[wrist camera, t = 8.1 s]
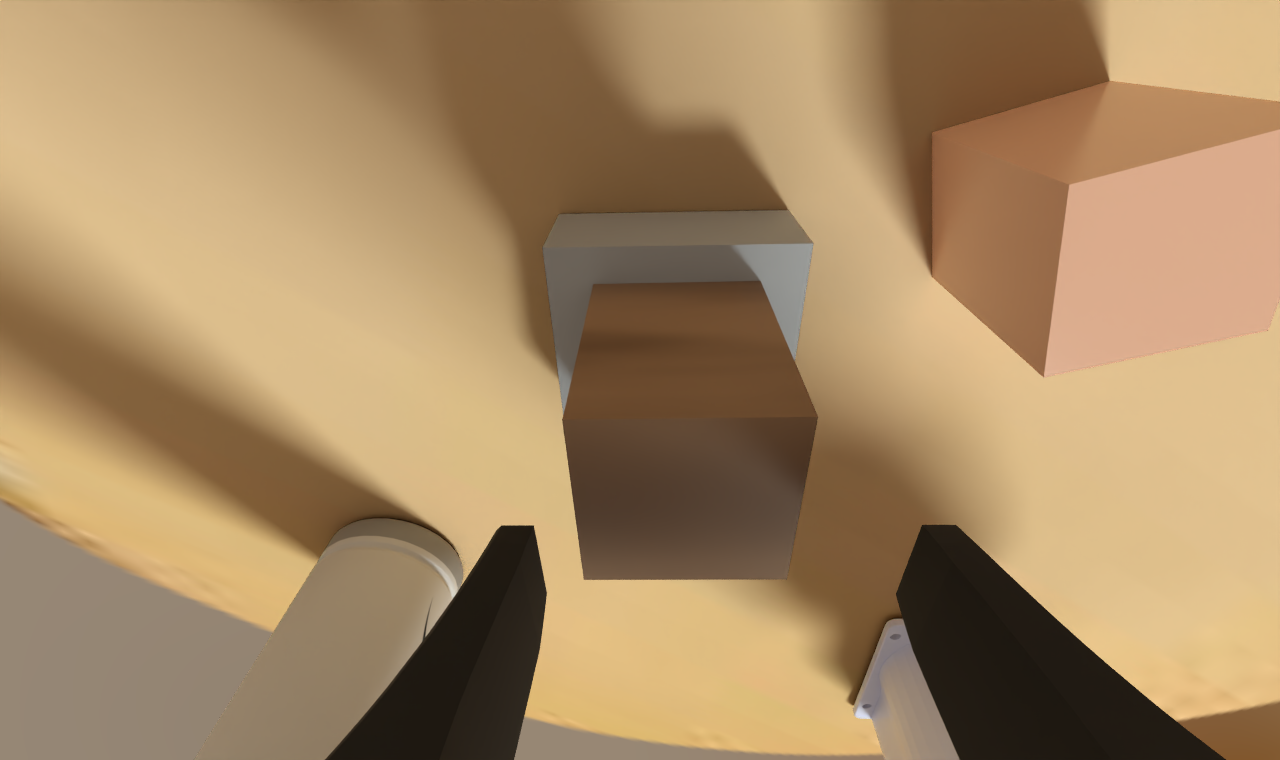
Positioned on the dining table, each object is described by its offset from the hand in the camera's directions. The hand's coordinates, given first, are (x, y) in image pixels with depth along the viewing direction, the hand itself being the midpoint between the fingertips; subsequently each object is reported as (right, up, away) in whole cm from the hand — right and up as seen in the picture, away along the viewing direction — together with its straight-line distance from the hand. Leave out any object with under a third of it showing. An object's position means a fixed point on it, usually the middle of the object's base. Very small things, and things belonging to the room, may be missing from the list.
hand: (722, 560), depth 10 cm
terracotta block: (+9, +9, +6) cm, 14 cm away
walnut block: (-1, +4, +5) cm, 7 cm away
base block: (-1, +6, +8) cm, 10 cm away
